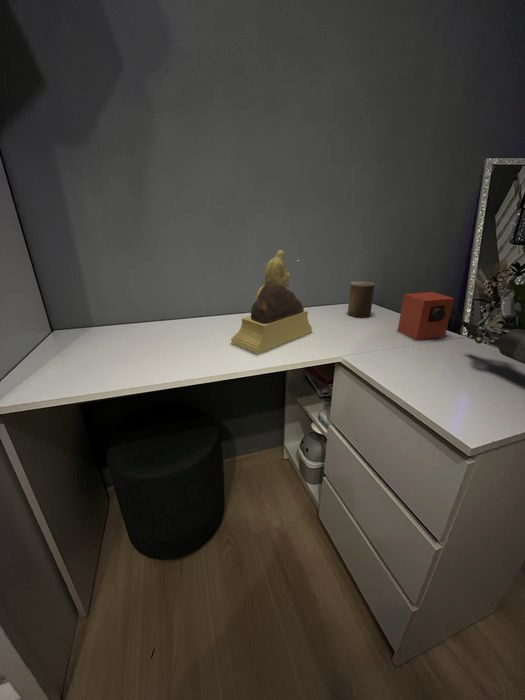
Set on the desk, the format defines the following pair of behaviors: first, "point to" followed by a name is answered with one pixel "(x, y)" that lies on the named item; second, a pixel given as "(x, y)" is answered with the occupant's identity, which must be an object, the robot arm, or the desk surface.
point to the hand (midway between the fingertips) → (469, 326)
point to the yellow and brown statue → (273, 313)
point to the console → (424, 315)
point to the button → (437, 314)
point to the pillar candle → (361, 299)
